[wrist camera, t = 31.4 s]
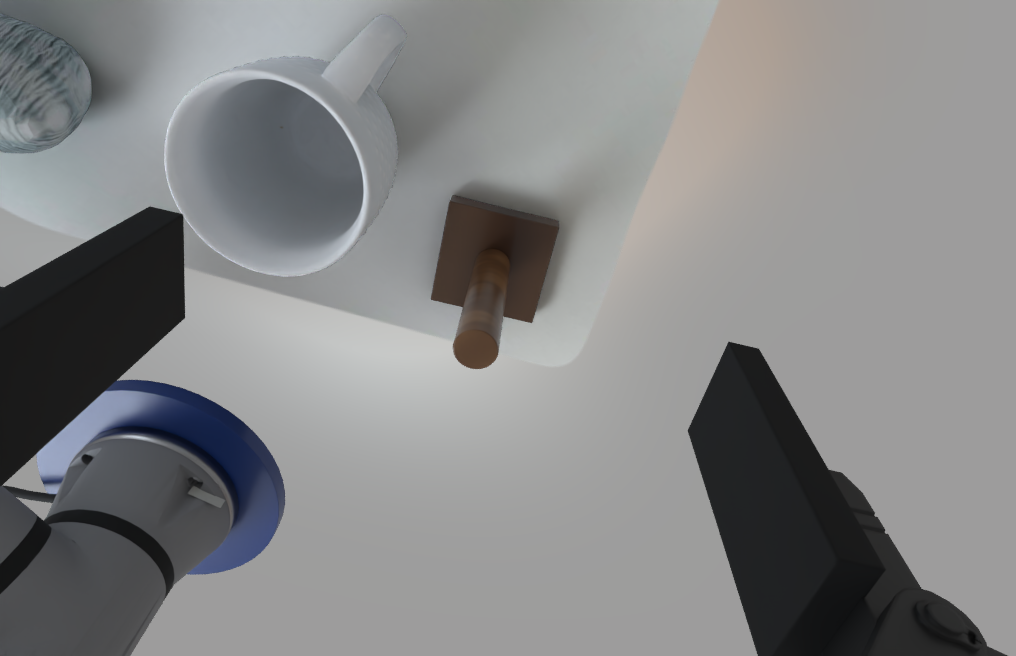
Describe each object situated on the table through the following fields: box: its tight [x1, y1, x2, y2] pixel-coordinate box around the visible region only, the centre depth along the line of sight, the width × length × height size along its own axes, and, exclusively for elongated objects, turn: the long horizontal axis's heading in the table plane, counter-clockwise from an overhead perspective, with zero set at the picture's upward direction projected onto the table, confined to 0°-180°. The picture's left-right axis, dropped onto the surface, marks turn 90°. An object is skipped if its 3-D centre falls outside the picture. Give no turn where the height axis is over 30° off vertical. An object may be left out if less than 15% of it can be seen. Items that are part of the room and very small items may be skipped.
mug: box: [164, 14, 407, 277], centre depth 38 cm, size 15×11×13 cm
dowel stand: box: [431, 195, 559, 369], centre depth 42 cm, size 8×8×14 cm
